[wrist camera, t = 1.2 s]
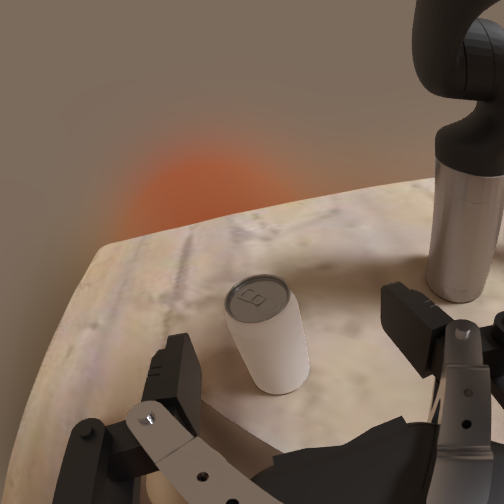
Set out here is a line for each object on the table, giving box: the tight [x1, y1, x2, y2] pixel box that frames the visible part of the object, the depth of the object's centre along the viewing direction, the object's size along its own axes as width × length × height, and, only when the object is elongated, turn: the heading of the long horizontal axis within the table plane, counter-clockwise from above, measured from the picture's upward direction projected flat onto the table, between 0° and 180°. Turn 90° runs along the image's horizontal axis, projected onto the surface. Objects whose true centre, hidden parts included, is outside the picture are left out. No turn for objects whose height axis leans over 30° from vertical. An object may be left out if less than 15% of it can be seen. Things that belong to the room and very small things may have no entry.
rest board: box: [140, 400, 284, 504], centre depth 22 cm, size 16×14×1 cm
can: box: [225, 274, 310, 394], centre depth 28 cm, size 6×6×12 cm
